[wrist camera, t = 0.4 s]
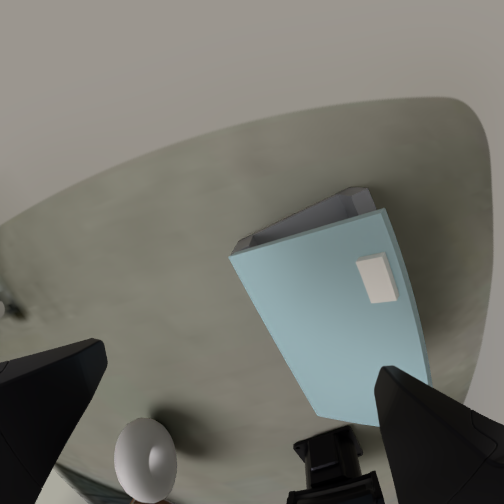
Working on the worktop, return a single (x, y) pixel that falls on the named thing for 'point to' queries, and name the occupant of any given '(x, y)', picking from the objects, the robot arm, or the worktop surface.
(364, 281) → the cover
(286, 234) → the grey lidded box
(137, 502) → the food container
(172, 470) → the donut
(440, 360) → the worktop surface
